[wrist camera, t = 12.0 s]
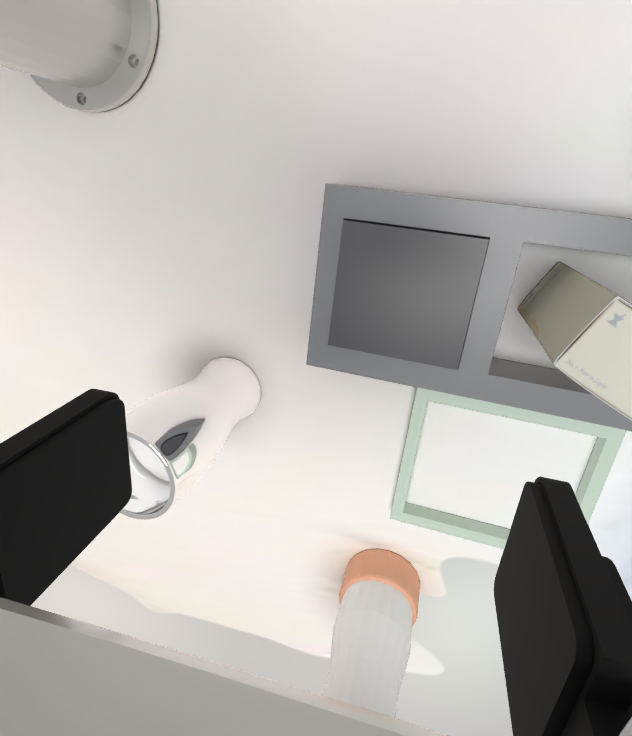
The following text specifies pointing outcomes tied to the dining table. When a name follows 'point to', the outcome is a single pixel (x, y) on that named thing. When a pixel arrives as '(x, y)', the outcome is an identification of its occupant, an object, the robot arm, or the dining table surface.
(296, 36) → the dining table surface
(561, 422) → the tray
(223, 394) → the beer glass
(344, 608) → the salt shaker
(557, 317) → the skincare box
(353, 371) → the socket strip
